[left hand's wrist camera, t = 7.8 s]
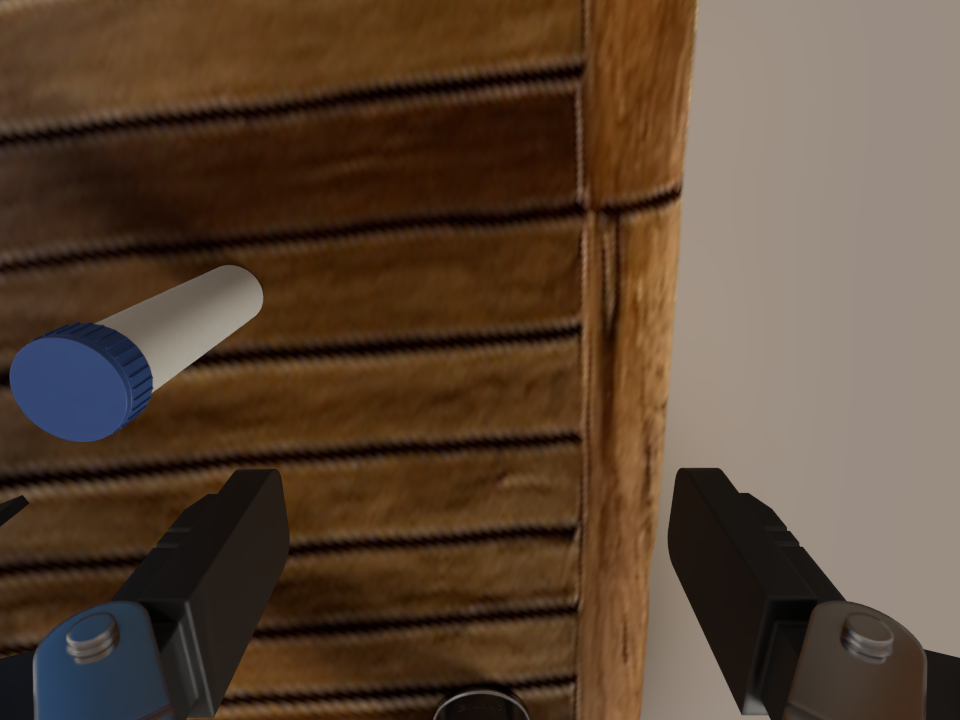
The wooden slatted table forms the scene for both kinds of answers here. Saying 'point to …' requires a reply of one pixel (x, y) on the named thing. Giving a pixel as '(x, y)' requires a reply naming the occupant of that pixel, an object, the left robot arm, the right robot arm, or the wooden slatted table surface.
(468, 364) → the wooden slatted table surface
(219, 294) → the white tube
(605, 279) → the wooden slatted table surface
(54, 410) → the lid
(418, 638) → the wooden slatted table surface
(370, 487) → the wooden slatted table surface
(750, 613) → the left robot arm
